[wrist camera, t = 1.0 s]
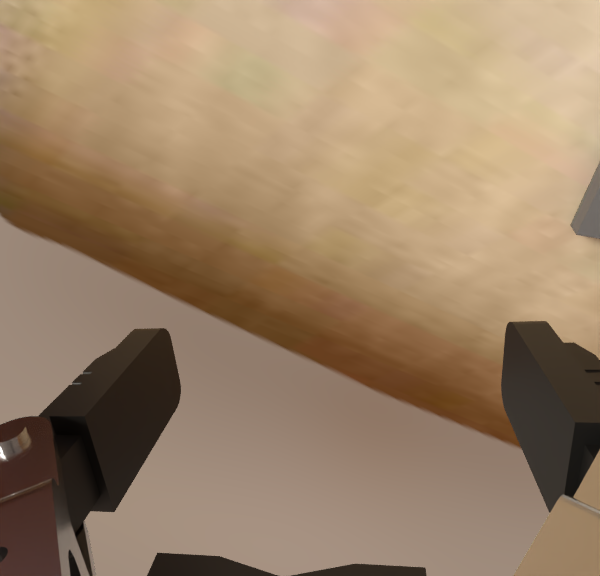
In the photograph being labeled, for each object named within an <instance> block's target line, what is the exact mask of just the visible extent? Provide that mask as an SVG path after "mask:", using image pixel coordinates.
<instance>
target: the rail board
mask: <svg viewBox="0 0 600 576" xmlns="http://www.w3.org/2000/svg"><path fill="white" fill-rule="evenodd" d="M571 227H572V228H573V230H574V232H575V233H576V235H581V236H587V237H593V238H599V239H600V163H599V165H598V167H597V169H596V171H595V173H594V176H593V178H592V180H591V182H590V184H589V186H588V189H587V191H586V193H585V195H584V197H583V199H582V201H581V204H580V206H579V208H578V210H577V212H576V214H575V217H574V219H573V221H572V223H571Z"/></svg>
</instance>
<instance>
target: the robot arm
mask: <svg viewBox="0 0 600 576" xmlns="http://www.w3.org/2000/svg"><path fill="white" fill-rule="evenodd" d="M501 389H502V399H503V404H504V408H505V411H506V413H507V416H508V418H509V420H510V423H511V425H512V427H513V429H514V432H515V434H516V436H517V439H518V441H519V443H520V446H521V448H522V450H523V453H524V455H525V457H526V459H527V462H528V464H529V466H530V469H531V471H532V473H533V476H534V478H535V480H536V483H537V485H538V487H539V489H540V492H541V494H542V496H543V499H544V501H545V503H546V506H547V508H548V510H549V512H550V514H549V516H548V517H547V519H546V521H545V523H544V524H543V526H542V528H541V529H540V531H539V533H538V534H537V536H536V538H535V540H534V541H533V543H532V545H531V546H530V548H529V550H528V552H527V553H526V555H525V557H524V558H523V560H522V562H521V564H520V565H519V567H518V569H517V570H516V572H515V574H514V576H600V360H599V359H598V358H597V357H596V355H594V354H593V353H591V352H589V351H587V350H586V349H584V348H582V347H580V346H579V345H577V344H575V343H563V342H562V340H561V339H560V338H559V337H558V335H557V334H556V333H555V332H554V330H553V329H552V328H551V326H550V325H549V324H548V323H547V322H546V321H527V322H509V323H508V325H507V327H506V333H505V345H504V357H503V369H502V382H501ZM180 394H181V386H180V379H179V374H178V369H177V365H176V360H175V356H174V351H173V346H172V341H171V337H170V334H169V332H168V331H167V330H166V329H164V328H159V329H134V330H133V331H132V332H131V333H130V334H129V335H128V336H127V337H126V338H125V339H124V340H123V341H122V342H121V343H120V344H119V345H118V346H117V347H116V348H115V349H112V350H111V351H109V352H107V353H106V354H104V355H102V356H100V357H99V358H97V359H96V360H94V361H93V362H92V363H91V364H90V365H89V366H88V367H87V368H86V369H85V370H84V371H83V374H81V375H79V376H78V377H77V378H76V379H75V380H74V381H73V382H72V385H69V386H68V387H67V388H66V389H65V390H64V391H63V392H62V393H61V394H60V395H59V396H58V397H57V398H56V399H55V400H54V401H53V402H52V403H51V404H50V405H49V406H48V407H47V408H46V409H45V410H44V411H43V412H42V413H41V414H40V415H39V416H29V417H22V418H18V419H14V420H11V421H8V422H6V423H3V424H1V425H0V576H96V572H95V566H94V561H93V555H92V551H91V544H90V539H89V534H88V530H87V527H86V524H85V521H84V520H85V518H86V517H87V515H88V514H89V512H90V511H102V512H115V510H116V508H117V507H118V505H119V503H120V502H121V500H122V498H123V497H124V495H125V493H126V492H127V490H128V488H129V487H130V485H131V483H132V482H133V480H134V478H135V477H136V475H137V473H138V472H139V470H140V468H141V467H142V465H143V463H144V462H145V460H146V458H147V457H148V455H149V453H150V452H151V450H152V448H153V447H154V445H155V443H156V442H157V440H158V438H159V437H160V435H161V433H162V432H163V430H164V428H165V427H166V425H167V423H168V422H169V420H170V418H171V417H172V415H173V413H174V412H175V410H176V408H177V406H178V404H179V400H180ZM147 576H277V575H274V574H271V573H268V572H265V571H262V570H259V569H256V568H253V567H250V566H247V565H244V564H241V563H238V562H234V561H232V560H229V559H226V558H223V557H220V556H205V555H186V554H169V553H157V555H156V557H155V560H154V562H153V564H152V566H151V568H150V571H149V573H148V575H147ZM292 576H426V569H425V568H423V567H403V566H386V565H368V564H351V565H347V566H340V567H335V568H330V569H325V570H319V571H314V572H308V573H303V574H298V575H292Z"/></svg>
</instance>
